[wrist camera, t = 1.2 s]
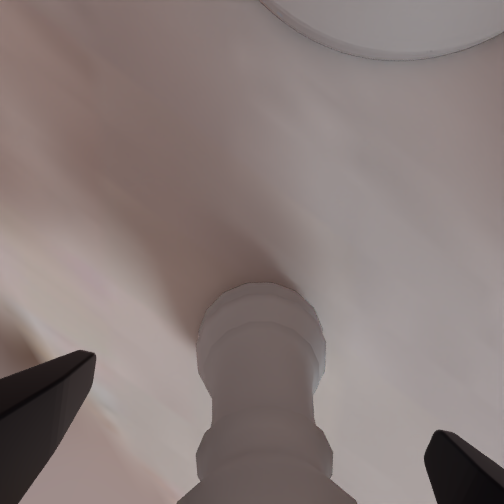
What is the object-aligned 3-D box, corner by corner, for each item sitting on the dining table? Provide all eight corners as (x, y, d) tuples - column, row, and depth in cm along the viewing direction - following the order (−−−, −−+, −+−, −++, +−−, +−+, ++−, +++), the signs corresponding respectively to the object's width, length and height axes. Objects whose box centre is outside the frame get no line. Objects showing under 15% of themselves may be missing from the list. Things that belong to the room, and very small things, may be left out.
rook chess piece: (186, 291, 12) (45, 527, 4) (309, 265, 11) (425, 463, 4) (216, 397, 13) (153, 753, 5) (330, 375, 12) (456, 715, 5)
